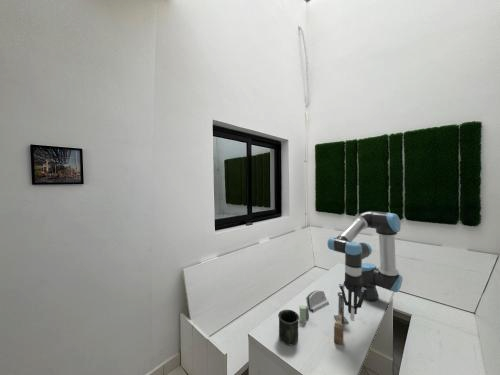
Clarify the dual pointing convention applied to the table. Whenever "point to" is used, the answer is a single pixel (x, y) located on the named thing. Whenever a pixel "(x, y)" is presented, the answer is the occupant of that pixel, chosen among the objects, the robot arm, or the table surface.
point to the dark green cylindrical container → (288, 326)
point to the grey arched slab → (316, 300)
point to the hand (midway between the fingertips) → (352, 319)
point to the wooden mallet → (338, 330)
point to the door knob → (341, 309)
